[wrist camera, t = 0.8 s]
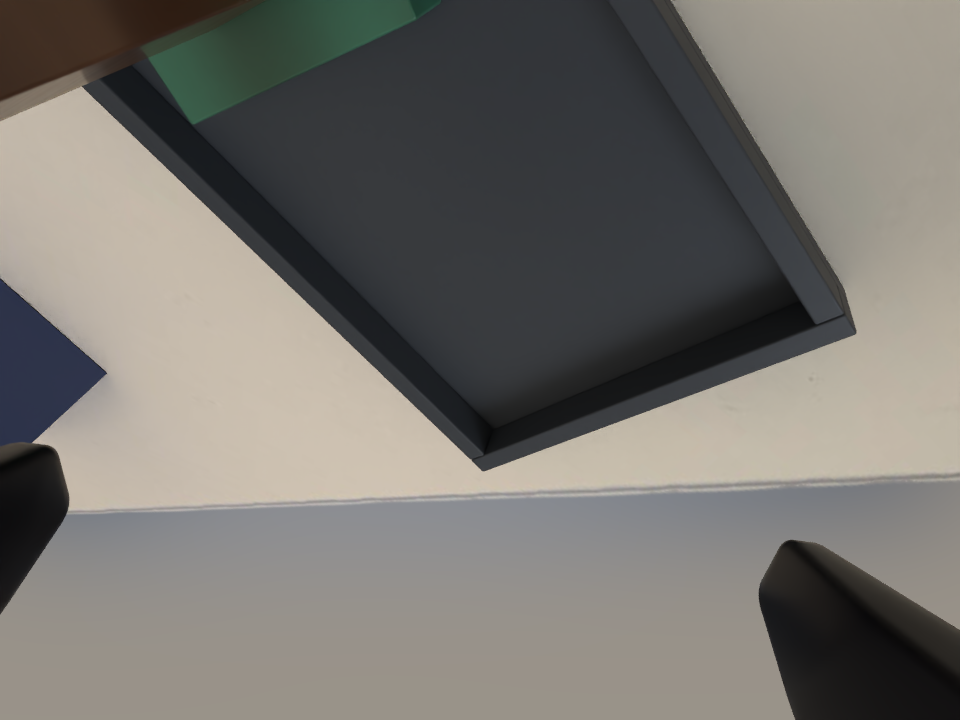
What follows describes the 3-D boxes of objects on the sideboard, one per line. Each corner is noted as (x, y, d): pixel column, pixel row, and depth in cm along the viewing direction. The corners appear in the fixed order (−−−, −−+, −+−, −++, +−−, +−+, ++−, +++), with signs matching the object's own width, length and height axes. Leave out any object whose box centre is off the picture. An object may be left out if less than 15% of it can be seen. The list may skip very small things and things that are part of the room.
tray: (15, -51, 19) (-51, -39, 18) (252, -694, 11) (168, -789, 9) (496, 432, 28) (482, 472, 26) (845, 289, 19) (857, 334, 17)
